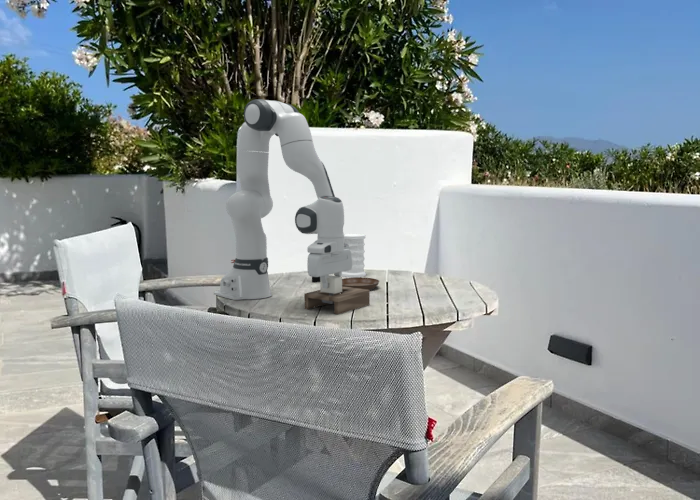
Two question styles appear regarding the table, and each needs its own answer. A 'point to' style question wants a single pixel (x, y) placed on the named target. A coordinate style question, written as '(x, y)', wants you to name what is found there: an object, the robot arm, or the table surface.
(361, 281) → the plant saucer
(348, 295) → the brown open frame
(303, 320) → the table surface
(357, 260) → the decorative container
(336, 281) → the gray rectangular block
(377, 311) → the table surface
